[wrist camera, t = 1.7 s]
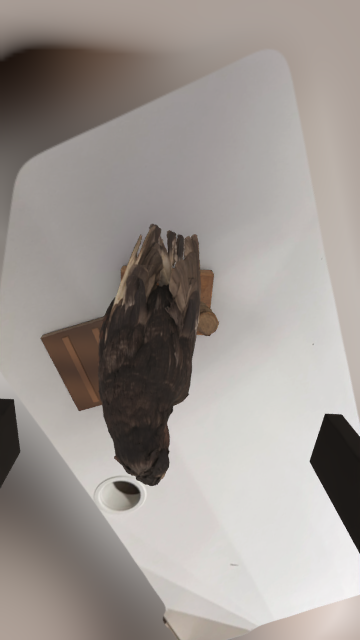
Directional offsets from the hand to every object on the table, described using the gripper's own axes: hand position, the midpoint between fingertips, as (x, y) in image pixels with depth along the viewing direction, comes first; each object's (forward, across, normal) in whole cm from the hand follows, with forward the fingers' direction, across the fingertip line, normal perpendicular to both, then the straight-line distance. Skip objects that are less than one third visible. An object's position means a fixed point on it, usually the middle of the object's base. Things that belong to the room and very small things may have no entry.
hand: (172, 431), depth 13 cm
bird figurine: (+27, 0, 0) cm, 27 cm away
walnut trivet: (+27, -8, -13) cm, 31 cm away
